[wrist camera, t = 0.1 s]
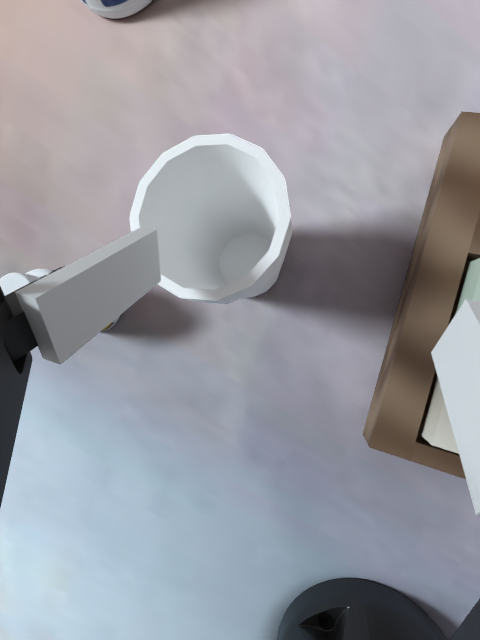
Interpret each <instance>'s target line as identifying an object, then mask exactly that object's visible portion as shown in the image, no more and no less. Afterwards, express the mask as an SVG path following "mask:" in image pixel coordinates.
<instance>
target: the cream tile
mask: <svg viewBox="0 0 480 640" xmlns="http://www.w3.org/2000/svg"><path fill="white" fill-rule="evenodd" d="M421 436H422V437H423V438H425V439H426V440H427V441H428V442H429V443H430V444H431V445H433V446H436V447H439V448H442V449H445V450H449V451H452V452H455V453H458V454H459V452H458V448H457V444H456V441H455V437H454V434H453V430H452V426H451V423H450V419H449V416H448V412H447V408H446V405H445V401H444V398H443V394H442V390H441V387H440V383H439V379H438V377H437V381H436V384H435V388H434V391H433V395H432V398H431V402H430V406H429V409H428V413H427V416H426V420H425V423H424V427H423V431H422V434H421Z"/></svg>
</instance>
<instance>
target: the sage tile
mask: <svg viewBox="0 0 480 640" xmlns="http://www.w3.org/2000/svg"><path fill="white" fill-rule="evenodd" d="M465 299H469V300H473V301H478V302H480V258H478V259H476V260H474V261H471V262H470V263H469V266H468V270H467V273H466V277H465V280H464V284H463V288H462V291H461V295H460V298H459V302H458V305H457V309H456V313H457V312H458V310H459V309H460V307H461V306H462V304H463V302H464V301H465ZM456 313H455V315H456Z"/></svg>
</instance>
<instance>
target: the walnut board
mask: <svg viewBox="0 0 480 640" xmlns="http://www.w3.org/2000/svg"><path fill="white" fill-rule="evenodd" d="M478 258H480V113H473V112H461V114H460V115H459V117H458V118H457V119H456V121H455V122H454V124H453V125H452V126H451V128H450V129H449V131H448V132H447V133H446V135H445V136H444V140H443V143H442V147H441V151H440V154H439V158H438V162H437V165H436V169H435V173H434V176H433V180H432V184H431V187H430V191H429V195H428V198H427V202H426V205H425V209H424V213H423V216H422V220H421V224H420V227H419V231H418V235H417V238H416V242H415V246H414V249H413V253H412V257H411V260H410V264H409V268H408V271H407V275H406V279H405V282H404V286H403V289H402V293H401V297H400V300H399V304H398V308H397V311H396V315H395V319H394V322H393V326H392V330H391V333H390V337H389V341H388V344H387V348H386V352H385V355H384V359H383V363H382V366H381V370H380V373H379V377H378V381H377V384H376V388H375V392H374V395H373V399H372V403H371V406H370V410H369V414H368V417H367V421H366V425H365V428H364V432H363V435H364V437H365V439H366V441H367V443H368V445H369V447H370V448H373V449H376V450H379V451H382V452H385V453H388V454H391V455H395V456H398V457H401V458H404V459H407V460H410V461H413V462H416V463H419V464H422V465H425V466H428V467H431V468H434V469H437V470H440V471H443V472H446V473H449V474H452V475H455V476H458V477H461V478H464V479H466V477H465V473H464V470H463V466H462V462H461V459H460V455H459V454H458V453H455V452H452V451H449V450H445V449H442V448H439V447H436V446H433V445H431V444H430V443H429V442H428V441H427V440H426V439H425V438H423V437H422V436H421V434H422V431H423V427H424V423H425V420H426V416H427V413H428V409H429V406H430V402H431V398H432V395H433V391H434V388H435V384H436V381H437V377H438V376H437V372H436V369H435V365H434V361H433V358H432V354H431V352H432V350H433V349H434V347H435V346H436V344H437V343H438V341H439V340H440V338H441V336H442V335H443V333H444V332H445V330H446V329H447V327H448V326H449V324H450V323H451V321H452V319H453V318H454V316H455V313H456V309H457V305H458V302H459V298H460V295H461V291H462V288H463V284H464V280H465V277H466V273H467V270H468V266H469V263H470V262H471V261H474V260H476V259H478Z"/></svg>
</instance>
